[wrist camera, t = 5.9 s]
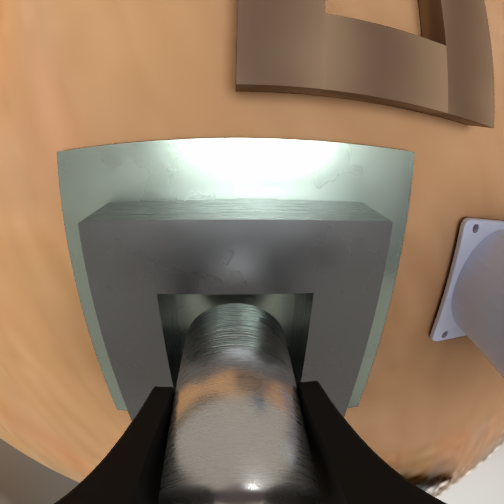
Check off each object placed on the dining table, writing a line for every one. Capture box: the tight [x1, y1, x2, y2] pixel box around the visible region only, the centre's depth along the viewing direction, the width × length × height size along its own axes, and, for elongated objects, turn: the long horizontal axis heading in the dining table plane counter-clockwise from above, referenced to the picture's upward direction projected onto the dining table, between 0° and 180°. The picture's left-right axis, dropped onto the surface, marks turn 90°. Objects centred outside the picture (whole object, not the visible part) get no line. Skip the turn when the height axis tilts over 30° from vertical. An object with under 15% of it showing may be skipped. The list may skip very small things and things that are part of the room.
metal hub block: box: [57, 138, 415, 421], centre depth 14 cm, size 16×16×4 cm
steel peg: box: [158, 303, 321, 504], centre depth 9 cm, size 4×4×7 cm
